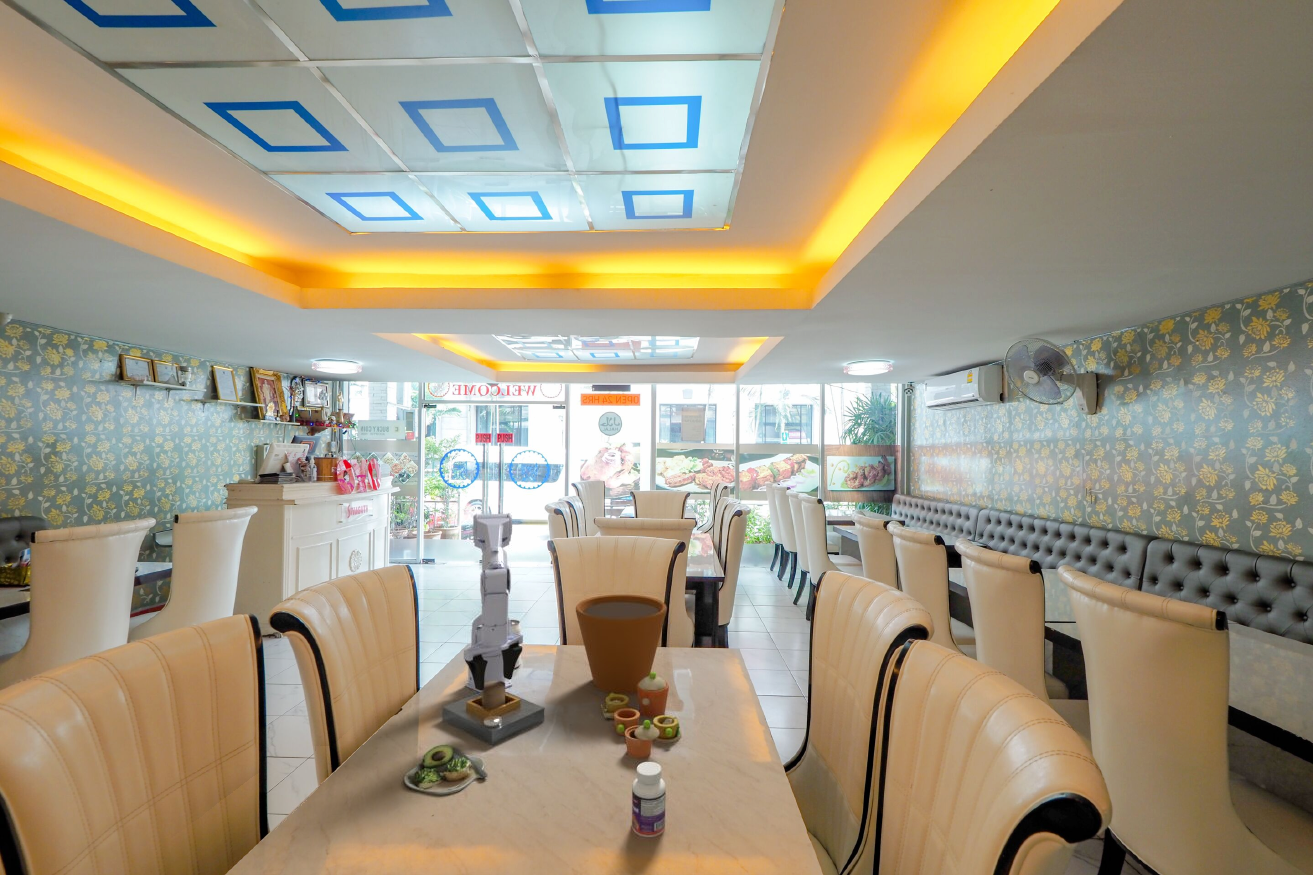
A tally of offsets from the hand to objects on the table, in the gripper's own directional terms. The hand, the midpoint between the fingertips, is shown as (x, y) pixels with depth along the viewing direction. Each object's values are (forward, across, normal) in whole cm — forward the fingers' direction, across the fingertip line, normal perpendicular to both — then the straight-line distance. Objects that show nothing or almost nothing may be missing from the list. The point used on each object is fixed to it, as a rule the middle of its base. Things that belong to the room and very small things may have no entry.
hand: (493, 683), depth 130 cm
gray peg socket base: (+8, 0, 0) cm, 8 cm away
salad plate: (+9, -18, -12) cm, 23 cm away
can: (+9, +23, +24) cm, 34 cm away
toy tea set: (+9, +18, -29) cm, 35 cm away
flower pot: (+9, +34, -8) cm, 36 cm away
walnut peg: (+8, 0, 0) cm, 8 cm away
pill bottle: (+8, -7, -50) cm, 51 cm away
